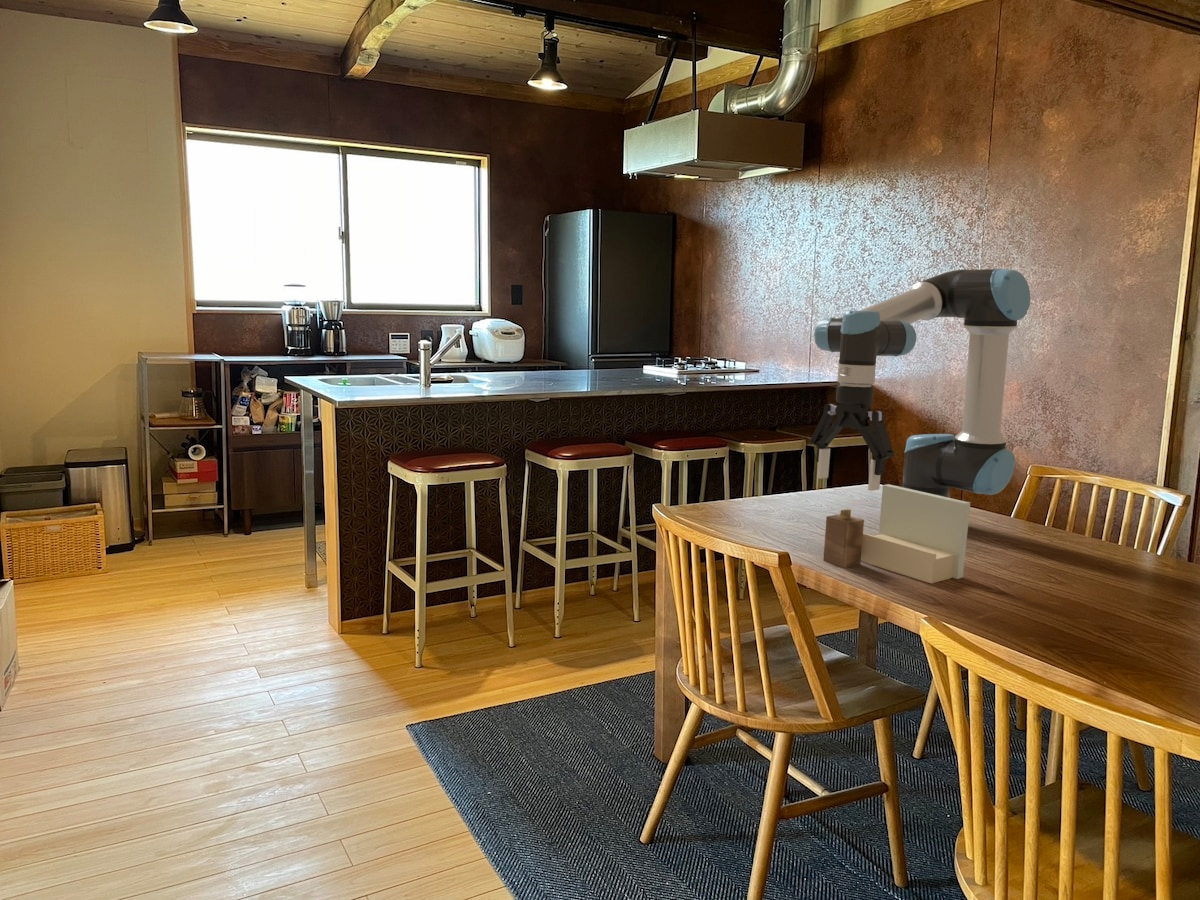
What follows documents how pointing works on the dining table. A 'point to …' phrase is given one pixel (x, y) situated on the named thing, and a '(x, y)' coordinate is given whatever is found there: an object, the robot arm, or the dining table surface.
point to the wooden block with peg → (843, 539)
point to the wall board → (919, 535)
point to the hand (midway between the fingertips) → (847, 483)
